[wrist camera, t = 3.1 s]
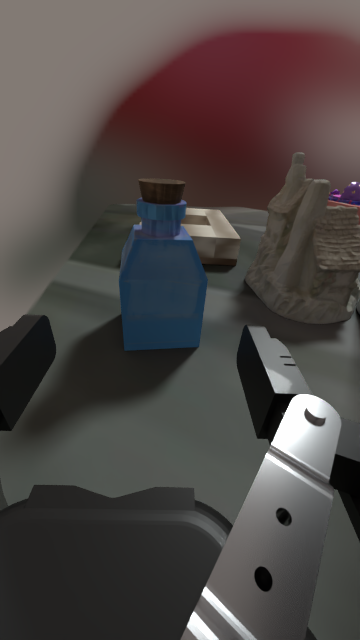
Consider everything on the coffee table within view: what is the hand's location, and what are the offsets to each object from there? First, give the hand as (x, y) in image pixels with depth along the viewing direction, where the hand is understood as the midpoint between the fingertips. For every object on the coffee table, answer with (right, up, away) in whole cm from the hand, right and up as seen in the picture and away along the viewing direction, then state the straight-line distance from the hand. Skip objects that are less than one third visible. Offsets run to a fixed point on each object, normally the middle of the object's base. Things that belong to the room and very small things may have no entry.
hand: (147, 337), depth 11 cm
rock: (+18, +4, +22) cm, 29 cm away
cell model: (+31, +18, +44) cm, 57 cm away
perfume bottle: (-1, 0, +13) cm, 13 cm away
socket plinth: (+2, +15, +36) cm, 40 cm away
